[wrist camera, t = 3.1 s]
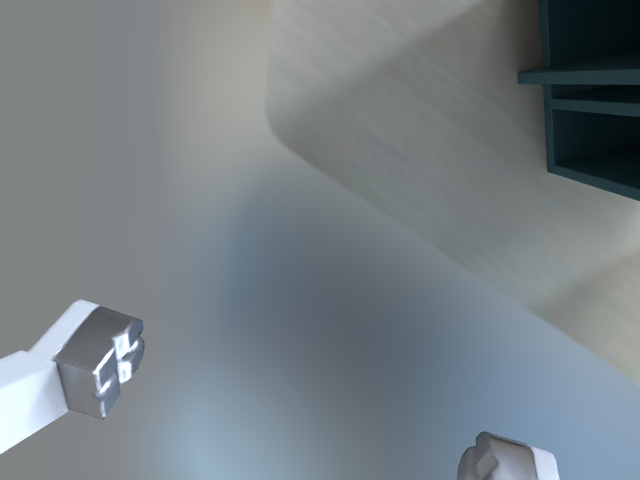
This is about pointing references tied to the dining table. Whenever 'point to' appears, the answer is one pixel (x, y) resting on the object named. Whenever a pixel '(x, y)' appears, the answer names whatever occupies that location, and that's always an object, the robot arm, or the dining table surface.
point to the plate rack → (591, 91)
